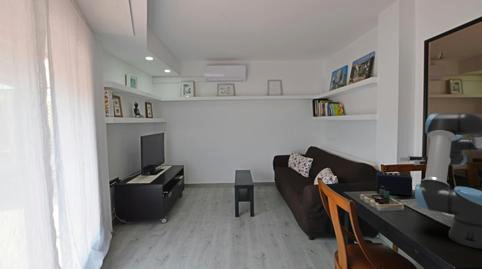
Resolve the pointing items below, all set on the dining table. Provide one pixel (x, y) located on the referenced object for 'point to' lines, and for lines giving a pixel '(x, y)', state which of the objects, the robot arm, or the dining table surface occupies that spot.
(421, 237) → the dining table surface
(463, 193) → the robot arm
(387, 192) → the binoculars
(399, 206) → the tray
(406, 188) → the speaker
